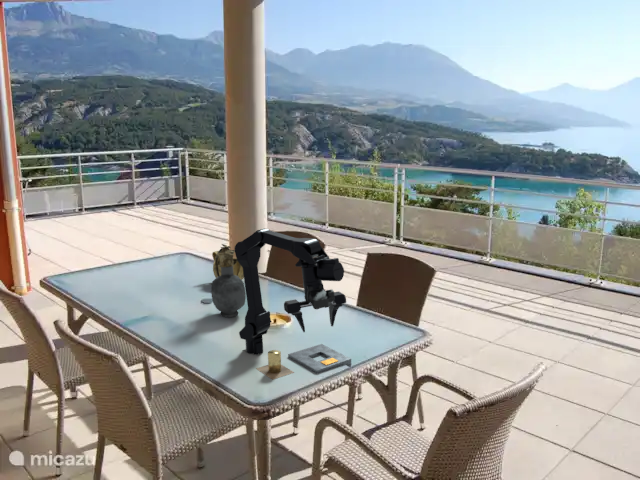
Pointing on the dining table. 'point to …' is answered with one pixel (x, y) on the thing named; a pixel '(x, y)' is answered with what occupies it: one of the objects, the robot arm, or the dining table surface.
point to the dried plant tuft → (236, 267)
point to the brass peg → (274, 361)
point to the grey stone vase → (227, 285)
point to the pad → (273, 376)
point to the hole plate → (330, 362)
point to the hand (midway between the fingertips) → (318, 329)
